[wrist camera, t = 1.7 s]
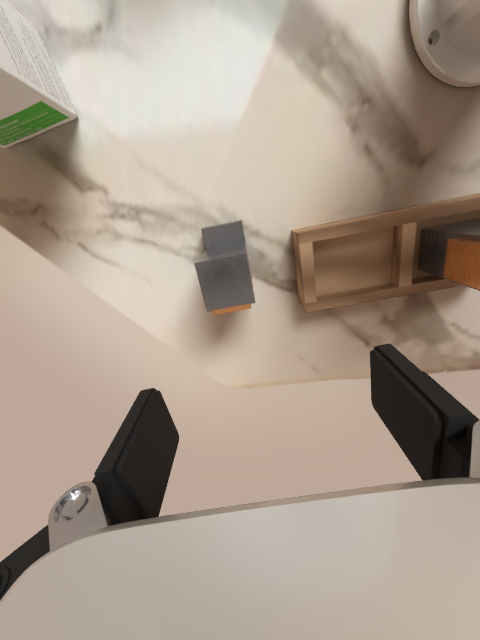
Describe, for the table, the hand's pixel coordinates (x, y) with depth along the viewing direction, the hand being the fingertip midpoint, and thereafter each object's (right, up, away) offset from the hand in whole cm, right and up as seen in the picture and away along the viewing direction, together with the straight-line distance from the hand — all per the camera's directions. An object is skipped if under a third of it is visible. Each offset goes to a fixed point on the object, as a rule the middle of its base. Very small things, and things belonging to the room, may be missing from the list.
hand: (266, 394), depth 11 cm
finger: (-2, +11, +17) cm, 20 cm away
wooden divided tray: (+15, +11, +16) cm, 25 cm away
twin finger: (+20, +11, +14) cm, 27 cm away
